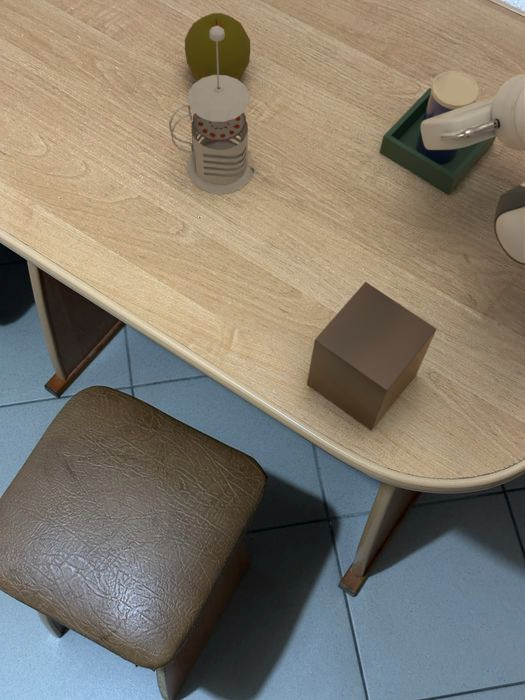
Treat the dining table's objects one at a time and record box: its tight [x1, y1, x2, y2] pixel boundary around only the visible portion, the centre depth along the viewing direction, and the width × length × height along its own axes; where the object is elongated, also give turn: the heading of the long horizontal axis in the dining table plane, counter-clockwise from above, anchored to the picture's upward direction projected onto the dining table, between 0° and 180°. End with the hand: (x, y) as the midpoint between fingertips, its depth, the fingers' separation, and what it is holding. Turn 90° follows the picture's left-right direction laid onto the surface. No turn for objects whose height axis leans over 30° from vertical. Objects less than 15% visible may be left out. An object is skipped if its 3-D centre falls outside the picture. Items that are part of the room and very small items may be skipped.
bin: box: [379, 87, 497, 196], centre depth 121 cm, size 12×12×4 cm
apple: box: [184, 12, 251, 81], centre depth 124 cm, size 10×10×11 cm
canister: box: [416, 70, 480, 164], centre depth 117 cm, size 6×6×12 cm
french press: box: [168, 26, 255, 195], centre depth 109 cm, size 10×12×25 cm
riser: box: [306, 281, 438, 432], centre depth 100 cm, size 10×10×12 cm
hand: (467, 112), depth 111 cm, fingers open, 8 cm apart
